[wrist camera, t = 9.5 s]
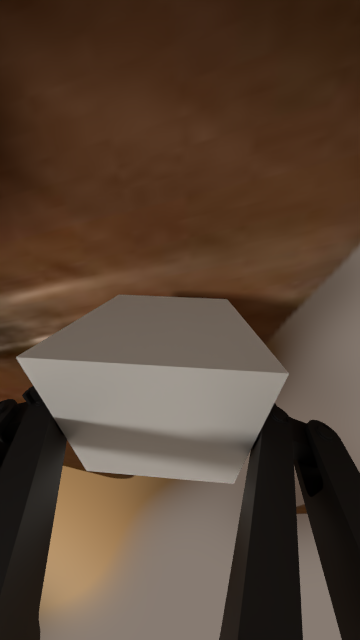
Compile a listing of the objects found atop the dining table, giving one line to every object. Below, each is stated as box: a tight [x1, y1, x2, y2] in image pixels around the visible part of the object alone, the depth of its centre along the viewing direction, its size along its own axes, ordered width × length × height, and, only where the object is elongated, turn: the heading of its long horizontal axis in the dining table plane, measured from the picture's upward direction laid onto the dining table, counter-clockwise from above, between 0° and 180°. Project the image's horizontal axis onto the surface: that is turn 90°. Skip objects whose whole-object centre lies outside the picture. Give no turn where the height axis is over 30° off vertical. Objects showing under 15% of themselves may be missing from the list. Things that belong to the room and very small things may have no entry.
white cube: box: [16, 295, 289, 484], centre depth 11 cm, size 10×10×9 cm
